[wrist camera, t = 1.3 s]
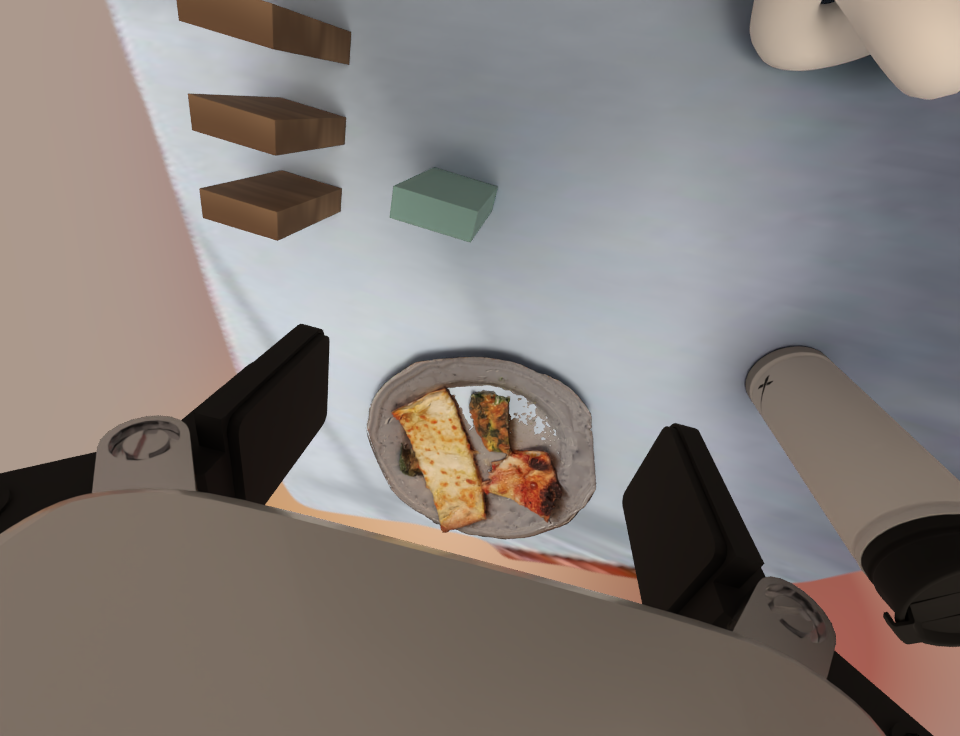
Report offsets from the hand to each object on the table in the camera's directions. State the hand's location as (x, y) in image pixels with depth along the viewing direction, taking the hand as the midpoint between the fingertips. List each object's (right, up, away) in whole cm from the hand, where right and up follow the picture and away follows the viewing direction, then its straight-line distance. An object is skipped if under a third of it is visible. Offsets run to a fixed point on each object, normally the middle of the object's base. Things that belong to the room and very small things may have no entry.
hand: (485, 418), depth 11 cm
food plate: (0, -7, +34) cm, 35 cm away
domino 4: (-1, +15, +20) cm, 25 cm away
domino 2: (-13, +20, +19) cm, 30 cm away
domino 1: (-11, +24, +17) cm, 31 cm away
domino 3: (-14, +16, +22) cm, 30 cm away
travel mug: (+26, +1, +24) cm, 35 cm away
